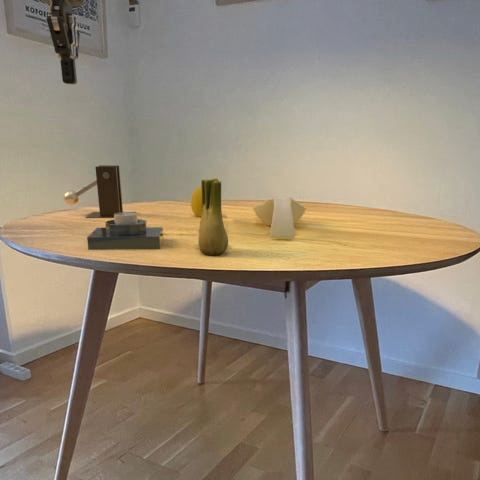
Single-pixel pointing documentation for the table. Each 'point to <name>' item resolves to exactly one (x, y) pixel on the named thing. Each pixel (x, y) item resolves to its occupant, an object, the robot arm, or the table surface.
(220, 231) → the fennel bulb
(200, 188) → the lemon
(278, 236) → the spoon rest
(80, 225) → the table surface
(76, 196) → the flush lever
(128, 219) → the flush button
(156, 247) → the button block
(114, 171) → the lever bracket
